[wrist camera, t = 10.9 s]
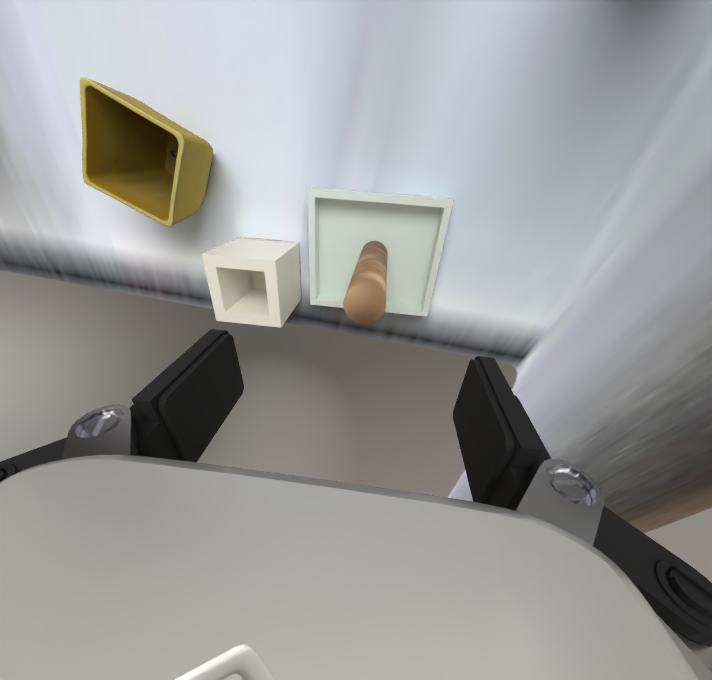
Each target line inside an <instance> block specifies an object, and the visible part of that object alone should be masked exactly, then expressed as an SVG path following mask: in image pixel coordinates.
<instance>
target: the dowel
mask: <svg viewBox="0 0 712 680" xmlns="http://www.w3.org/2000/svg"><path fill="white" fill-rule="evenodd" d="M387 255H388V254H387V249H386V247H385V246H384V245H383V244H382V243H381V242H378V241H370V242H368V243H367V244H365V245H364V247H363V248H362V251H361V253H360V256H359V259H358V262H357V264H356V267H355V270H354V273H353V275H352V278H351V281H350V284H349V286H348V289H347V292H346V295H345V297H344V301H343V308H344V311H345V313H346V315H347V316H348V318H349V319H351V320H352V321H353V322H355V323H358V324H362V325H368V324H372V323H375V322H377V321H378V320H379V319H381V317H382V316H383V315H384V313H385V309H386V287H387Z"/></svg>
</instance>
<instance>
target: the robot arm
mask: <svg viewBox="0 0 712 680" xmlns="http://www.w3.org/2000/svg"><path fill="white" fill-rule="evenodd" d="M243 390H244V384H243V380H242V375H241V371H240V367H239V362H238V357H237V353H236V348H235V344H234V339H233V337H232V335H229V333H228V331H225V330H215V329H212V330H209V331H208V332H207V333H206V334H205V335H204V336H203V337H202V338H201V339H199V340H198V341H197V342H196V343H195V344H194V345H193V346H191V347H190V348H189V349H188V350H187V351H186V352H185V353H184V354H182V355H181V356H180V357H179V358H178V359H177V360H176V361H174V363H172V364H171V365H170V366H169V367H168V368H166V369H165V370H164V371H163V372H162V373H161V374H160V375H159V376H158V377H156V378H155V379H154V380H153V381H152V382H151V383H150V384H149V385H147V386H146V387H145V388H144V389H143V390H142V391H141V392H140V393H138V394H137V395H136V396H135V397H134V398H133V399H132V401H133V403H134V405H132V406H131V407H130V408H128V407H127V406H124V405H119V404H118V405H108V406H104V407H101V408H98V409H95V410H93V411H91V412H89V413H87V414H86V415H84V416H83V417H81V418H80V419H78V420H77V421H76V422H75V423H74V424H73V425H72V426H71V428H70V430H69V432H68V436H67V438H64V439H61V440H59V441H56V442H53V443H51V444H48V445H45V446H42V447H40V448H37V449H34V450H31V451H28V452H26V453H23V454H21V455H18V456H15V457H12V458H10V459H7V460H4V461H1V462H0V680H712V583H711V582H710V581H709V580H707V578H706V577H704V576H703V575H702V574H700V573H699V572H697V570H695V569H694V568H693V567H691V566H690V565H688V564H687V563H686V562H684V561H683V560H681V559H680V558H678V557H677V556H675V555H674V554H672V553H671V552H670V551H668V550H667V549H665V548H664V547H662V546H661V545H660V544H658V543H657V542H655V541H654V540H652V539H651V538H649V537H648V536H646V535H645V534H644V533H642V532H641V531H639V530H638V529H636V528H635V527H634V526H632V525H631V524H629V523H628V522H626V521H625V520H623V519H622V518H620V517H619V516H618V515H616V514H615V513H613V512H612V511H610V510H609V509H607V508H606V507H605V506H604V496H603V494H602V492H601V489H600V488H599V486H598V485H597V484H596V482H595V481H594V480H593V479H592V478H591V477H590V476H589V475H588V474H587V473H586V472H584V471H583V470H581V469H580V468H578V467H577V466H575V465H573V464H571V463H569V462H566V461H563V460H559V459H551V457H550V456H549V454H548V452H547V450H546V448H545V446H544V445H543V443H542V441H541V439H540V437H539V435H538V434H537V432H536V430H535V428H534V426H533V424H532V423H531V421H530V419H529V417H528V415H527V413H526V412H525V410H524V408H523V406H522V404H521V402H520V401H519V399H518V398H517V396H515V395H514V394H513V392H512V390H511V388H510V387H509V385H508V383H507V381H506V379H505V377H504V375H503V374H502V372H501V370H500V368H499V366H498V364H497V362H496V360H495V359H494V358H490V357H480V356H477V357H476V358H475V360H470V362H469V365H468V368H467V371H466V374H465V377H464V380H463V383H462V386H461V389H460V392H459V395H458V398H457V401H456V404H455V408H454V411H453V420H454V424H455V427H456V432H457V436H458V440H459V444H460V449H461V453H462V457H463V461H464V465H465V469H466V473H467V478H468V482H469V486H470V490H471V494H472V498H473V501H474V502H471V501H465V500H459V499H453V498H446V497H440V496H434V495H428V494H421V493H414V492H406V491H399V490H392V489H386V488H378V487H371V486H365V485H358V484H350V483H343V482H337V481H329V480H322V479H315V478H308V477H301V476H293V475H286V474H279V473H271V472H264V471H257V470H248V469H242V468H233V467H226V466H219V465H211V464H204V463H196V462H197V461H198V459H199V458H200V456H201V455H202V453H203V452H204V450H205V449H206V447H207V446H208V444H209V443H210V441H211V440H212V438H213V437H214V435H215V434H216V432H217V431H218V429H219V428H220V426H221V425H222V423H223V422H224V420H225V419H226V417H227V416H228V414H229V413H230V411H231V410H232V408H233V407H234V405H235V404H236V402H237V401H238V399H239V398H240V396H241V395H242V393H243Z"/></svg>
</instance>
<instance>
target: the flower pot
mask: <svg viewBox="0 0 712 680" xmlns="http://www.w3.org/2000/svg"><path fill="white" fill-rule="evenodd" d="M80 99H81V117H82V137H83V148H82V164H83V165H82V171H83V178H84V182H85V183H86V184H88V185H89V186H91V187H93V188H95V189H97V190H99V191H101V192H102V193H104V194H106V195H108V196H110V197H112V198H114V199H116V200H118V201H120V202H122V203H123V204H125V205H127V206H129V207H131V208H133V209H135V210H137V211H139V212H141V213H142V214H144V215H146V216H148V217H150V218H152V219H154V220H155V221H157V222H159V223H161V224H163V225H165V226H168V227H170V226H172V225H174V224H176V223H178V222H180V221H182V220H184V219H186V218H188V217H189V216H191V215H193V214H194V213H195V212H196V211H197V210H198V209H199V208H200V206H201V205H202V202H203V200H204V197H205V193H206V188H207V183H208V178H209V173H210V168H211V163H212V158H213V149H212V147H211V145H210V144H209V143H208V142H207V141H205V140H204V139H202V138H200V137H198V136H197V135H195V134H193V133H192V132H190V131H188V130H186V129H185V128H183V127H181V126H180V125H178V124H176V123H175V122H173V121H171V120H170V119H168V118H166V117H165V116H163V115H161V114H160V113H158V112H156V111H155V110H153V109H152V108H150V107H149V106H147V105H145V104H144V103H142V102H140V101H138V100H137V99H135V98H133V97H130V96H128V95H126V94H123V93H121V92H119V91H116V90H114V89H112V88H109V87H107V86H105V85H102V84H100V83H98V82H95V81H93V80H90V79H88V78H81V80H80ZM173 151H175V152H176V153H177V157H175V156H174V155H173Z"/></svg>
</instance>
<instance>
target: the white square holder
mask: <svg viewBox="0 0 712 680" xmlns="http://www.w3.org/2000/svg"><path fill="white" fill-rule="evenodd" d="M202 258H203V263H204V267H205V272H206V276H207V281H208V285H209V289H210V294H211V298H212V303H213V307H214V311H215V316H216V320H217V321H224V322H235V323H243V324H252V325H262V326H271V327H280V328H281V327H282V326H283V324H284V323H285V321H286V320H287V319H288V317H289V316H290V314H291V313H292V311H293V310H294V309H295V307H296V306H297V304H298V303H299V301H300V300H301V299H302V296H301V272H300V249H299V242H291V241H280V240H269V239H258V238H247V237H239V238H237V239H234V240H232V241H230V242H227V243H225V244H223V245H221V246H218V247H216V248H214V249H211V250H209V251H207V252H204V253H202Z"/></svg>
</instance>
